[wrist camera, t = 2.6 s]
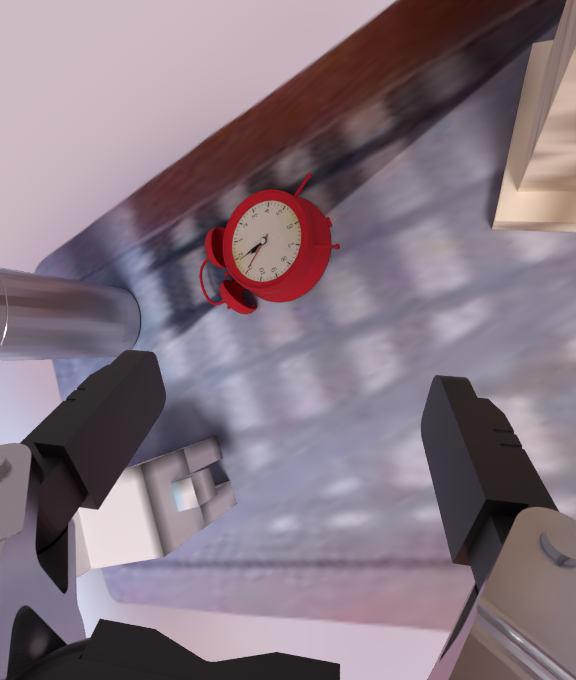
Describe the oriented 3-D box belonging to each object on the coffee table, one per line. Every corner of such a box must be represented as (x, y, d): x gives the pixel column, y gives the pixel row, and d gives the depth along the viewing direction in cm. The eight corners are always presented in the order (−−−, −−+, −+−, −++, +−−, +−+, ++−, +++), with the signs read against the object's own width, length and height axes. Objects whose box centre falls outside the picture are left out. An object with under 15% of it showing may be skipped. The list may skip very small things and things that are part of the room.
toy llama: (255, 499, 35) (44, 663, 17) (145, 525, 42) (-84, 658, 24) (233, 429, 36) (16, 513, 18) (130, 465, 44) (-97, 551, 26)
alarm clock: (348, 258, 27) (191, 327, 30) (353, 279, 33) (222, 335, 36) (304, 151, 29) (160, 227, 32) (316, 190, 35) (194, 250, 38)
